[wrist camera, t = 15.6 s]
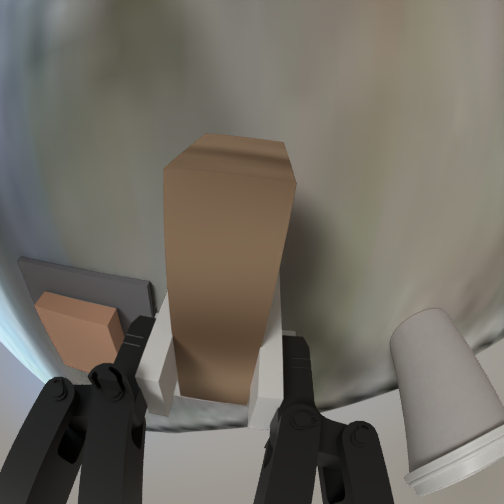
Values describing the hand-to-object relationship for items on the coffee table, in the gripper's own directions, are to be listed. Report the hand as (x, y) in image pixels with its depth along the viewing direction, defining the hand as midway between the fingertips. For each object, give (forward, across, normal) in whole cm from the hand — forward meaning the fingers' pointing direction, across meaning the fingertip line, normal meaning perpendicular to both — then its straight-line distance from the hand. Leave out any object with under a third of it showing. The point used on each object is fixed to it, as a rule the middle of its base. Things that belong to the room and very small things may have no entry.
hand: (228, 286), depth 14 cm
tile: (+3, -13, -8) cm, 16 cm away
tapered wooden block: (0, 0, -3) cm, 3 cm away
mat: (+5, -13, -11) cm, 18 cm away
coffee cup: (+5, +18, -8) cm, 20 cm away
